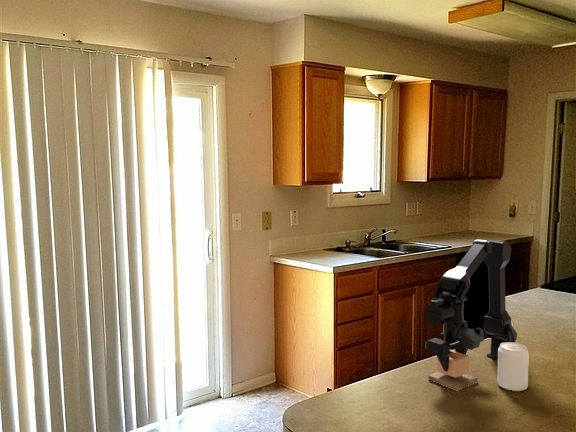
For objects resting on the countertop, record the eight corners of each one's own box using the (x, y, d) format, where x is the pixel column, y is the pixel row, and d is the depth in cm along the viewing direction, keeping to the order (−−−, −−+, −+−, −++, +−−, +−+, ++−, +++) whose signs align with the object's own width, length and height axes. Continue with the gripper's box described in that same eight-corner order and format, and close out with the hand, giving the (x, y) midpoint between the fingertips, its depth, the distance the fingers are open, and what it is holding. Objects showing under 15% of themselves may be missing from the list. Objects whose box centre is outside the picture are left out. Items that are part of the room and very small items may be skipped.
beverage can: (510, 394, 145) (510, 353, 143) (491, 382, 152) (492, 343, 151) (534, 390, 147) (535, 349, 146) (514, 379, 155) (515, 340, 153)
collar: (450, 365, 158) (450, 349, 158) (468, 372, 153) (469, 355, 153) (437, 370, 155) (437, 354, 154) (455, 377, 149) (455, 361, 149)
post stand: (449, 371, 161) (449, 351, 160) (477, 382, 153) (477, 361, 152) (428, 380, 155) (428, 359, 155) (456, 391, 147) (456, 369, 147)
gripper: (456, 331, 140) (456, 386, 142) (496, 317, 151) (495, 368, 153) (424, 321, 149) (424, 373, 151) (463, 309, 160) (463, 357, 162)
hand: (453, 368), depth 154 cm, fingers closed on collar, 6 cm apart
